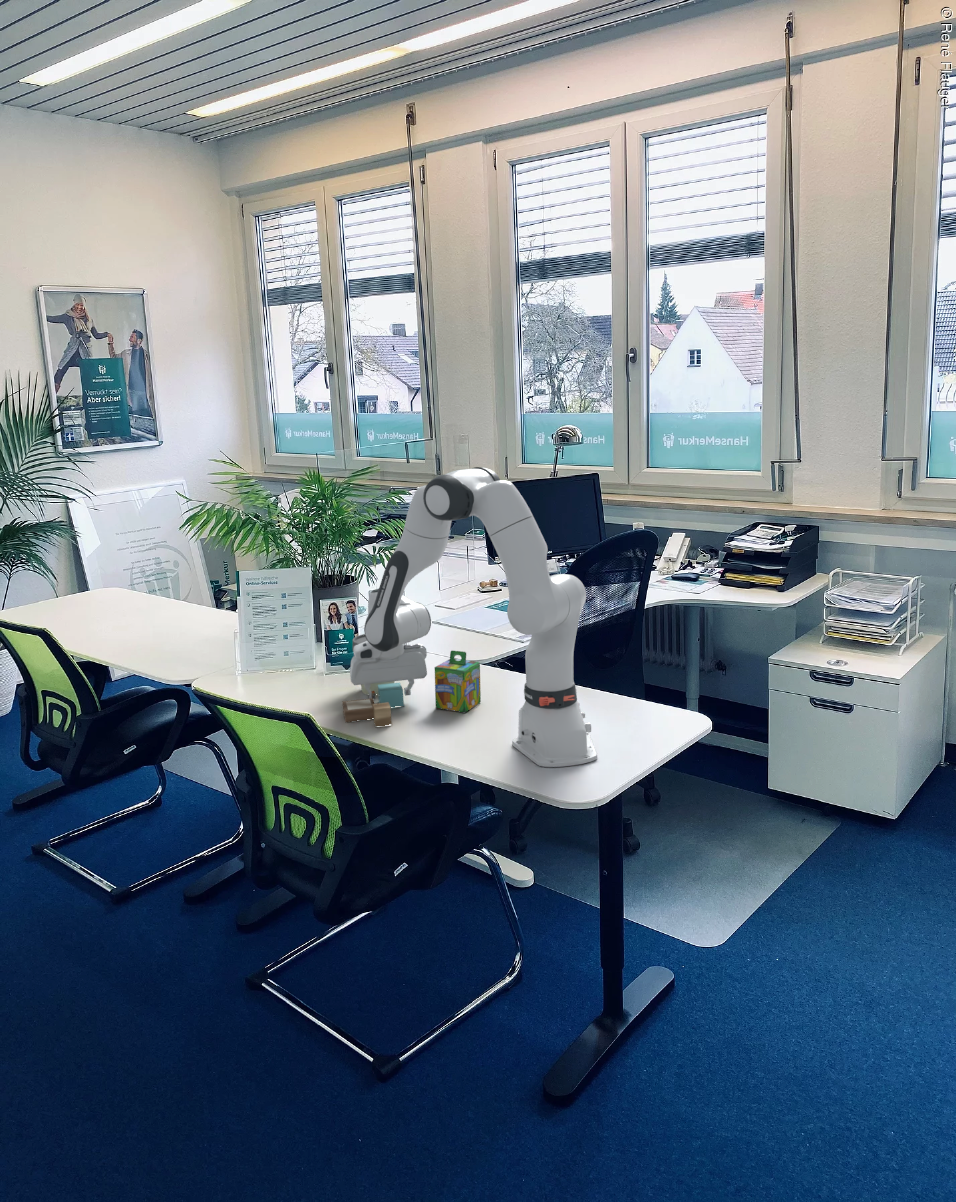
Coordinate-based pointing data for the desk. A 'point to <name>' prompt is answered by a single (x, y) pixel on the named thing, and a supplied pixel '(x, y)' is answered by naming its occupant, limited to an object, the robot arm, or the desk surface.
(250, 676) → the desk surface
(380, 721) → the oak block
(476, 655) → the desk surface
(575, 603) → the robot arm
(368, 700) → the walnut slab
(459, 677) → the chalk box
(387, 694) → the teal block
